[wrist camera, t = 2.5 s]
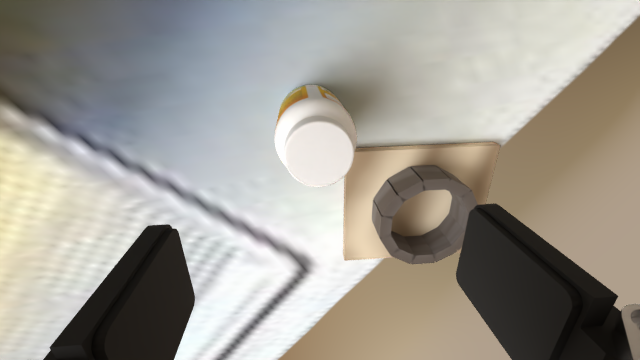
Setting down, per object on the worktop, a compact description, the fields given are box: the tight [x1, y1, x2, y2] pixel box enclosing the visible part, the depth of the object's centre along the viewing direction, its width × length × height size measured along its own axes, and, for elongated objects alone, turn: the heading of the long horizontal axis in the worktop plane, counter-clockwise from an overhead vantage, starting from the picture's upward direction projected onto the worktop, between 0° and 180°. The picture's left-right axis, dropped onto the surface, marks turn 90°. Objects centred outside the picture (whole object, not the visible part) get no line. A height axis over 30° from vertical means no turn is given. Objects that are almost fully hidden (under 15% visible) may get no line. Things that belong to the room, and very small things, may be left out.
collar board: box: [343, 142, 500, 264], centre depth 28 cm, size 14×12×4 cm
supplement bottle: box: [275, 85, 357, 187], centre depth 21 cm, size 5×5×10 cm
